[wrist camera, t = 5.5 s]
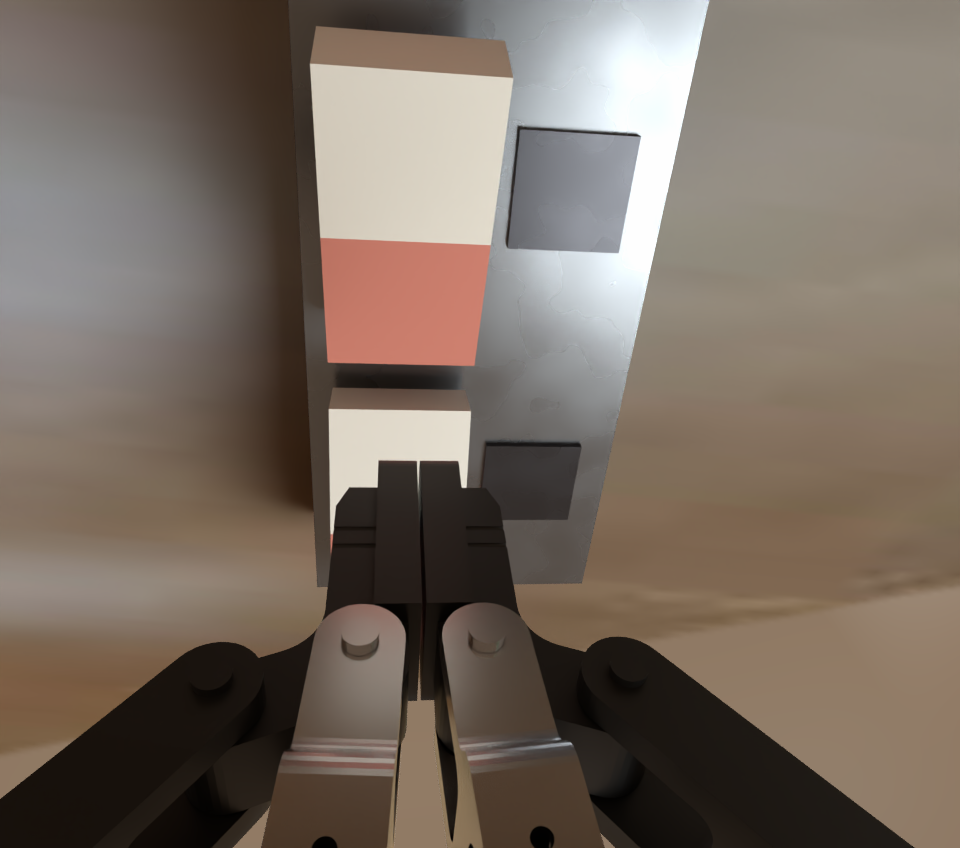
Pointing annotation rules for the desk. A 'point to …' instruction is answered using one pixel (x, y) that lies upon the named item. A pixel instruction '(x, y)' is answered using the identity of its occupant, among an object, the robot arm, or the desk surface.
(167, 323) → the desk surface
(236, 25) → the desk surface
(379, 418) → the rocker
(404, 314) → the block
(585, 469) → the power strip
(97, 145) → the desk surface
